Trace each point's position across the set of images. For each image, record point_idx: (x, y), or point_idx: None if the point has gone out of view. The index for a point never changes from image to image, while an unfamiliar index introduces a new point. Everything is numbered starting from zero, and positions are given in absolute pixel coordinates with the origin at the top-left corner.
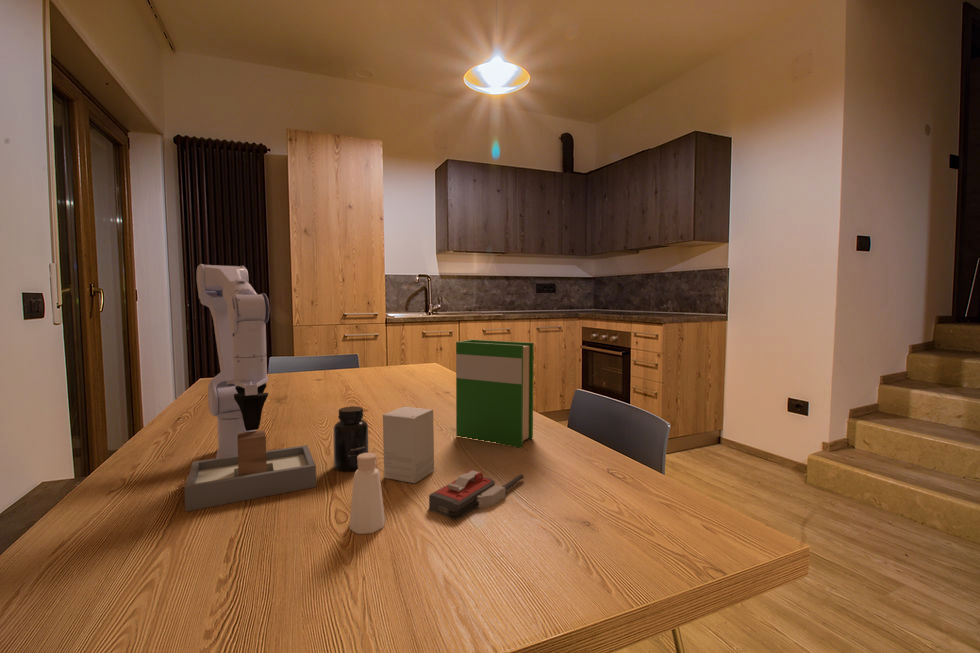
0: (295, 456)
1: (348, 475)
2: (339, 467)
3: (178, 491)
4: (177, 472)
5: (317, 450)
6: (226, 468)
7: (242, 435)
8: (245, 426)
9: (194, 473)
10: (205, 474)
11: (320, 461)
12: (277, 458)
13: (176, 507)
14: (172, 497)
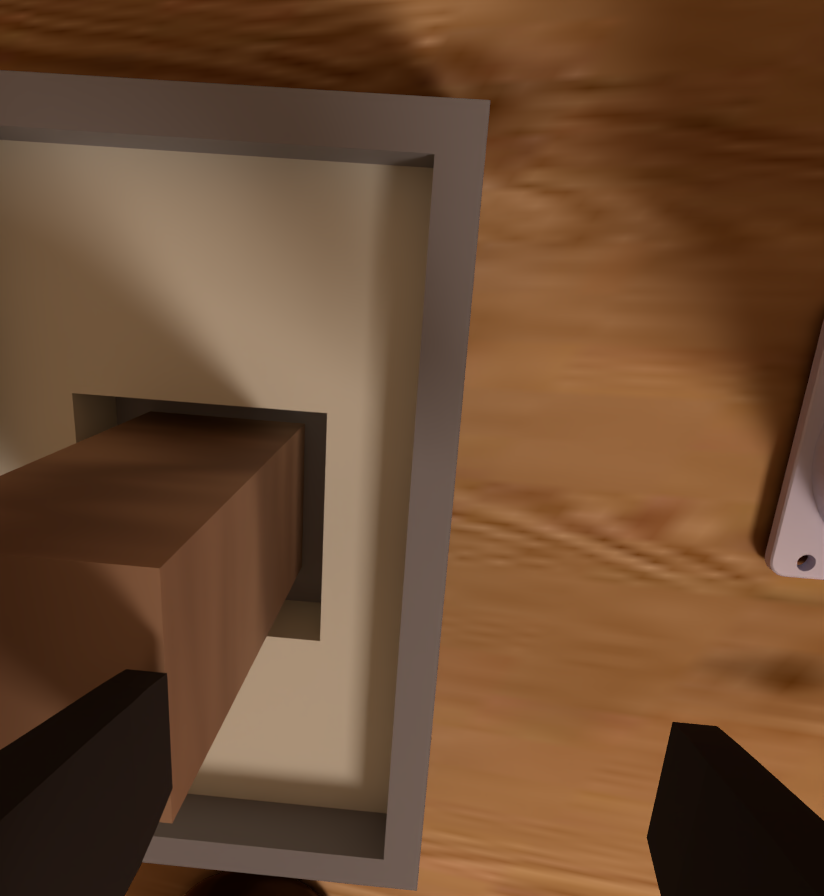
0: (367, 772)
1: (140, 884)
2: (198, 890)
3: (358, 51)
4: (801, 13)
5: (632, 864)
6: (363, 364)
7: (28, 604)
8: (75, 702)
9: (144, 126)
10: (303, 217)
11: (422, 834)
12: (392, 678)
13: (77, 58)
14: (263, 18)
